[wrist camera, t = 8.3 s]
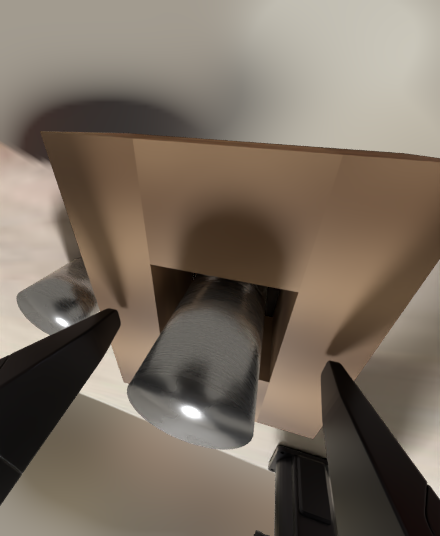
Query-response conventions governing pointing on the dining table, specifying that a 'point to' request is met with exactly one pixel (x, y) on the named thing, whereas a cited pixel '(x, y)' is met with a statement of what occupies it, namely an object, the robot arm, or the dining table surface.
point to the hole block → (253, 245)
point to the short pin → (59, 298)
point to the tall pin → (205, 365)
